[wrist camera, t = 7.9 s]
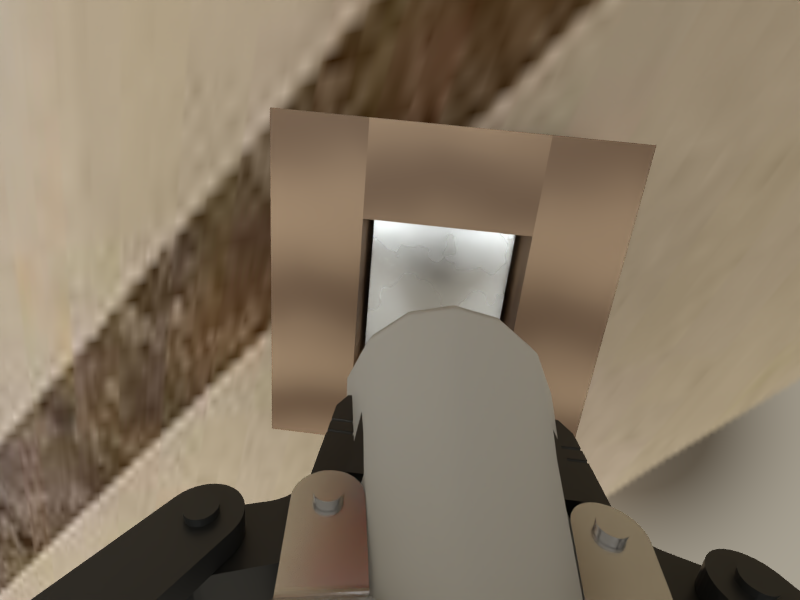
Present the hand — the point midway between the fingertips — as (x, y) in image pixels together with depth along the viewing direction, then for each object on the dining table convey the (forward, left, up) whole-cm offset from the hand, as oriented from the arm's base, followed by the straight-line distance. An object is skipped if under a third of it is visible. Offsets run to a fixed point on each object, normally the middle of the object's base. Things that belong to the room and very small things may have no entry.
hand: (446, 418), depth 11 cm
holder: (0, 0, -17) cm, 17 cm away
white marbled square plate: (0, 0, -13) cm, 13 cm away
